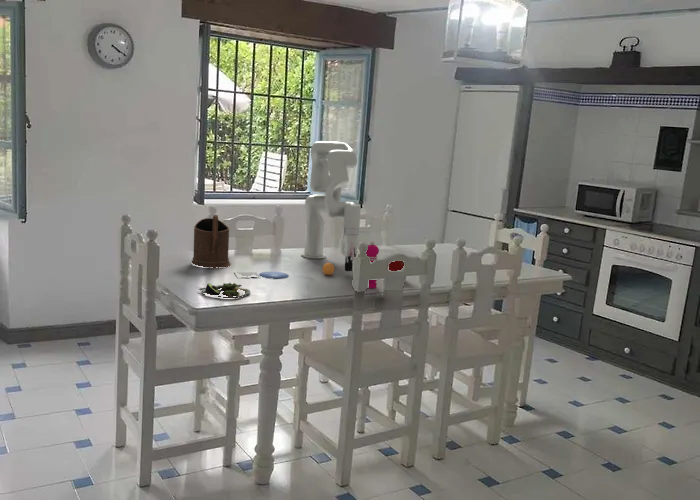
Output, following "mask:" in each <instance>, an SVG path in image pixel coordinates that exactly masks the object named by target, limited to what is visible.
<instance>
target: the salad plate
mask: <svg viewBox="0 0 700 500" xmlns="http://www.w3.org/2000/svg"><path fill="white" fill-rule="evenodd" d="M241 287H242V284H236V283H235V282H233V283H231V282H229V283H223V284H222V285H213V284H211V283H207V284H206V287H201V288H198V291H201V290H202V291H201V293H202V292H203V293H207V294H210V295H219V294H220V292H221V291H224V292H223V293H222V294H223V295H226V296H228V297H223V298H238V297H242V296H244V297H246V296H248V295H250V294H251V290H250V289H248V288H241ZM220 288H222V289H221V290H218V289H220ZM238 289H240V290H243V291H245V294H244V295H243V294H241V295H240V293H239V292H237V290H238ZM203 293H202V294H203ZM247 294H248V295H247ZM245 295H246V296H245ZM233 296H236V297H233ZM218 297H221V296H218ZM242 298H243V297H242Z"/></svg>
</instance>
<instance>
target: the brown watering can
mask: <svg viewBox="0 0 700 500" xmlns="http://www.w3.org/2000/svg"><path fill="white" fill-rule="evenodd" d="M229 237H230V227H229V226H228V225H227V224H225V223H224V222H222V221H221V220H220V219H219V215H218V214H213V217H210V218H209V217H208V218H202V219H200V220H199V221H197V222H196V223H195V225H194V227H193V257H192V260H191V262H192V263H193V264H195V265H198V266H203V267H213V268H216V267H218V268H219V267H226V268H229V267H231V266H232V264H231V262H230V260H229V246H230V245H229V242H230V241H229V240H230V238H229ZM230 265H231V266H230ZM228 266H229V267H228Z"/></svg>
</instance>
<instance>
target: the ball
mask: <svg viewBox="0 0 700 500" xmlns="http://www.w3.org/2000/svg"><path fill="white" fill-rule="evenodd" d="M321 269H322V272H323V274H324V275H326V276H331V275H333V274H334V272H335V266H334V264H333V263H331V262H326V263H324V265H322V268H321Z"/></svg>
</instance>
